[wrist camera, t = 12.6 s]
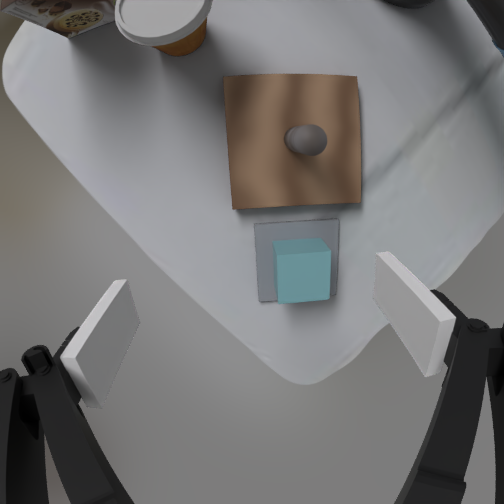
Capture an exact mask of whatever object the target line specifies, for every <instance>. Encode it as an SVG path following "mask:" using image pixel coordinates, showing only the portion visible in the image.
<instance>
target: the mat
mask: <svg viewBox="0 0 504 504" xmlns="http://www.w3.org/2000/svg"><path fill="white" fill-rule="evenodd" d="M254 232H255V248H256V264H257V280H258V296H259V302H262V301H275V300H277V296H276V291H275V287H274V267H273V243H272V241H281V240H296V239H310V238H322V240H323V241H324V242H325V244H326V245H327V246H328V248H329V249H330V250H331V272H330V294H329V295H336V284H337V263H338V232H339V220H338V219H321V220H304V221H288V222H272V223H258V224H254Z"/></svg>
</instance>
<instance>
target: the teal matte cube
mask: <svg viewBox="0 0 504 504" xmlns="http://www.w3.org/2000/svg"><path fill="white" fill-rule="evenodd" d="M272 243H273V267H274V287H275V291H276V296H277V300H278V304H285V303H296V302H307V301H317V300H327V299H329V294H330V272H331V250H330V249H329V248H328V246H327V245H326V244H325V242H324V241H323V240H322V238H310V239H296V240H281V241H272Z"/></svg>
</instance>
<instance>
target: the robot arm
mask: <svg viewBox="0 0 504 504" xmlns="http://www.w3.org/2000/svg"><path fill="white" fill-rule="evenodd" d="M384 1H386V2H388V3H391V4H393V5H396V6H400V7H404V8H420V7H423V6H425V5H427V4H429V3H431V2H433V1H434V0H384ZM467 2H468V3H469V4H470V6H471V7H472V9H473V10H474V12H475V13H476V14H477V16H478V17H479V19H480V20H481V22H482V23H483V25H484V27H485V28H486V30H487V31H488V33H489V35H490V36H491V38H492V42H493V43H494V45H495V46H496V48H497V49H498V50H499V51H500V52H501V54H502V56H503V57H504V0H467ZM373 299H374V301H375V302H376V304H377V305H378V307H379V308H380V309H381V311H382V312H383V314H384V315H385V317H386V318H387V320H388V321H389V323H390V324H391V326H392V327H393V329H394V330H395V331H396V333H397V335H398V336H399V337H400V339H401V340H402V342H403V344H404V345H405V347H406V348H407V350H408V351H409V353H410V354H411V356H412V357H413V359H414V360H415V362H416V364H417V365H418V367H419V368H420V370H421V371H422V373H423V375H424V376H425V377H428V376H431V375H434V374H438V373H440V372H441V369H442V365H443V362H445V364H446V365H447V366H448V370H447V373H446V376H445V378H444V381H443V384H442V390H441V393H440V396H439V399H438V402H437V405H436V409H435V411H434V414H433V417H432V420H431V423H430V425H429V428H428V431H427V433H426V436H425V439H424V441H423V443H422V446H421V448H420V451H419V453H418V455H417V458H416V460H415V462H414V464H413V467H412V469H411V471H410V473H409V475H408V477H407V480H406V482H405V484H404V486H403V488H402V490H401V492H400V494H399V495H398V497H397V499H396V501H395V503H394V504H461V501H462V499H463V496H464V493H465V489H466V482H464V476H465V472H466V469H467V466H468V462H469V459H470V455H471V451H472V448H473V443H474V440H475V435H476V431H477V427H478V421H479V417H480V411H481V407H482V401H483V395H484V388H485V381H486V377H487V382H488V388H489V395H490V402H491V410H492V418H493V429H494V441H495V460H496V461H495V463H496V492H495V504H504V324H503V327H502V328H494V329H490V328H489V326H488V325H487V324H486V323H485V322H483V321H481V320H479V319H472V318H471V319H468V318H467V317H466V316H465V315H464V314H463V313H462V312H461V311H460V310H459V309H458V308H457V307H456V306H454V304H453V303H452V302H451V301H449V299H448V298H447V297H446V296H445V295H444V294H443V293H441V292H438V291H437V290H435V289H434V290H429V289H428V288H427V287H426V286H425V285H424V284H423V283H422V282H421V281H420V280H419V279H418V278H416V277H415V276H414V275H413V274H412V273H411V272H410V271H409V270H408V269H407V268H406V267H405V266H404V265H403V264H402V263H401V262H400V261H399V260H398V259H396V258H395V257H394V256H393V255H392V254H391V253H390V252H389V251H388V252H380V253H376V263H375V279H374V293H373ZM139 324H140V321H139V317H138V314H137V311H136V308H135V304H134V301H133V298H132V294H131V291H130V287H129V284H128V280H127V279H125V280H115V281H114V282H113V283H112V285H111V286H110V287H109V289H108V290H107V291H106V293H105V294H104V295H103V297H102V298H101V299H100V301H99V302H98V303H97V305H96V306H95V307H94V309H93V310H92V312H91V313H90V314H89V316H88V317H87V318H86V320H85V321H84V323H83V324H82V325H81V327H77V328H76V329H74V330H73V331H72V332H71V333H70V334H69V335H68V337H67V338H66V339H65V340H66V341H64V342H63V344H62V346H60V348H59V349H58V351H57V352H56V354H55V355H54V357H53V358H52V356H51V354H50V352H49V350H48V348H47V347H46V346H44V345H37V346H34V347H32V348H30V349H28V350H27V351H26V352H25V353H24V354H23V356H22V359H21V361H22V362H23V364H24V366H25V368H26V370H27V372H28V373H29V375H28V376H22V377H20V376H19V375H18V373H17V371H16V370H15V369H13V368H7V369H5V370H2V371H0V504H49V500H48V491H47V481H46V467H45V446H44V433H45V436H46V440H47V443H48V446H49V449H50V452H51V455H52V458H53V460H54V463H55V466H56V469H57V471H58V474H59V477H60V479H61V482H62V484H63V486H64V489H65V491H66V494H67V496H68V498H69V500H70V502H71V504H134V502H133V501H132V499H131V498H130V496H129V495H128V493H127V492H126V490H125V489H124V487H123V485H122V484H121V482H120V481H119V479H118V477H117V476H116V474H115V473H114V471H113V469H112V467H111V466H110V464H109V462H108V460H107V459H106V457H105V455H104V453H103V451H102V450H101V448H100V446H99V444H98V442H97V440H96V438H95V436H94V434H93V432H92V430H91V428H90V426H89V424H88V422H87V420H86V418H85V416H84V414H83V412H82V409H81V408H80V406H79V404H78V403H79V401H80V399H81V398H82V399H83V401H84V403H85V404H86V406H87V407H92V408H102V407H103V405H104V402H105V400H106V398H107V395H108V393H109V391H110V388H111V386H112V384H113V381H114V379H115V377H116V374H117V372H118V370H119V368H120V365H121V363H122V361H123V359H124V356H125V354H126V352H127V350H128V348H129V346H130V343H131V341H132V339H133V337H134V335H135V333H136V331H137V328H138V326H139Z"/></svg>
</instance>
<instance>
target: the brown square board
mask: <svg viewBox="0 0 504 504" xmlns="http://www.w3.org/2000/svg"><path fill="white" fill-rule="evenodd" d="M223 84H224V99H225V114H226V128H227V143H228V156H229V170H230V183H231V196H232V208H233V210H234V209H248V208H263V207H278V206H296V205H315V204H337V203H361V139H360V114H359V97H358V82H357V76H343V75H323V74H260V75H241V76H227V77H223Z"/></svg>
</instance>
